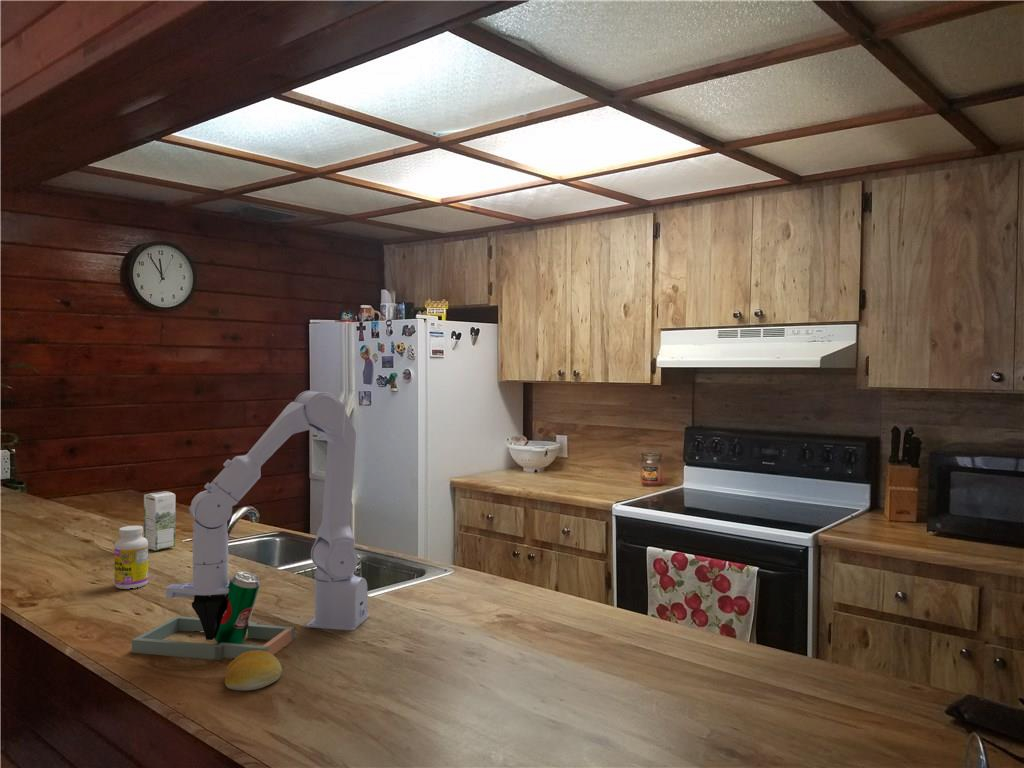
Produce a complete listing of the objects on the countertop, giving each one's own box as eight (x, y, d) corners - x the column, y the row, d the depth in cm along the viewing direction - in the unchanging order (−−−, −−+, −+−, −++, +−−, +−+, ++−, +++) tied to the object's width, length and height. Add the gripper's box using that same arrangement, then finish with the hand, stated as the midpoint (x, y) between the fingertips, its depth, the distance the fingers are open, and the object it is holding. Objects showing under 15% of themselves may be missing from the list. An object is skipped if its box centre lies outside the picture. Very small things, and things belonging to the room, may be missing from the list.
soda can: (232, 651, 126) (251, 585, 126) (206, 641, 127) (225, 575, 127) (248, 642, 131) (267, 578, 131) (224, 632, 132) (242, 568, 132)
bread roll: (224, 696, 109) (223, 669, 109) (226, 674, 117) (225, 649, 117) (283, 687, 112) (281, 660, 111) (281, 666, 120) (280, 641, 120)
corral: (297, 639, 133) (296, 625, 132) (261, 666, 121) (261, 650, 121) (177, 629, 137) (177, 615, 137) (132, 654, 125) (131, 639, 125)
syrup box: (164, 543, 202) (163, 490, 201) (176, 546, 198) (175, 492, 198) (143, 547, 197) (143, 493, 197) (155, 551, 194) (154, 495, 193)
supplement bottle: (107, 587, 162) (106, 529, 162) (133, 579, 168) (132, 523, 168) (130, 591, 160) (129, 532, 159) (155, 583, 166) (154, 525, 166)
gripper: (259, 554, 133) (260, 629, 133) (177, 554, 133) (178, 629, 133) (247, 565, 126) (247, 644, 126) (160, 565, 125) (161, 644, 126)
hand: (211, 638), depth 129 cm, fingers closed
